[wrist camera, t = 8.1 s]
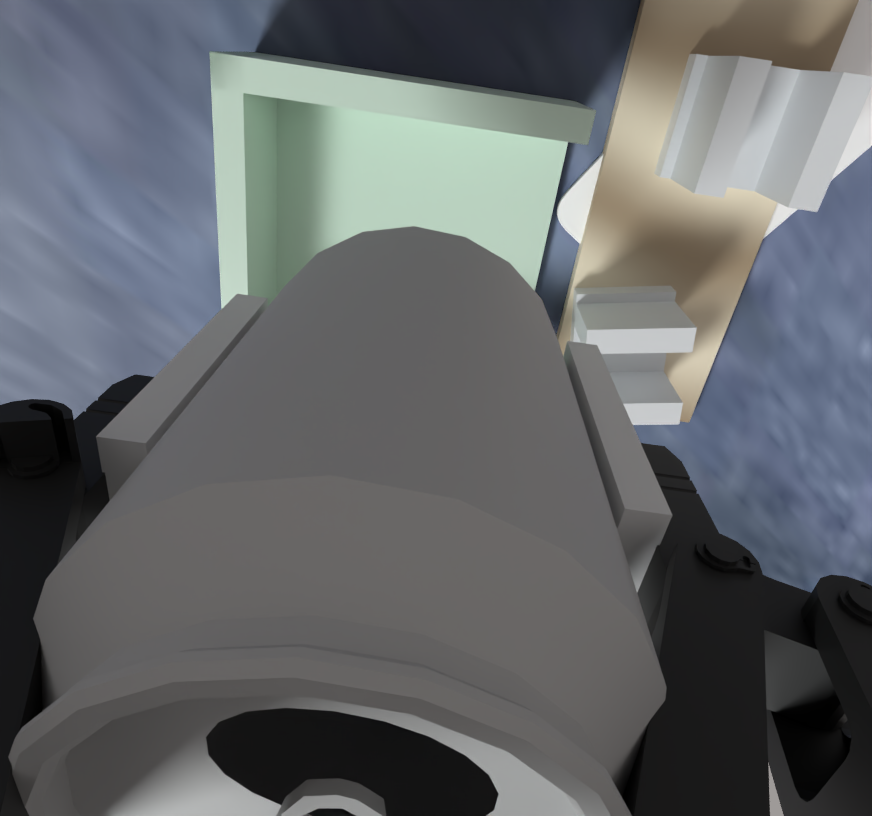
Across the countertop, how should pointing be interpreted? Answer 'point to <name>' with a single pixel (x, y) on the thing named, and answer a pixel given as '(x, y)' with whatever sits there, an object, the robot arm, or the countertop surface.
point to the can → (355, 573)
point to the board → (669, 201)
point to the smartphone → (858, 54)
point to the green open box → (376, 163)
